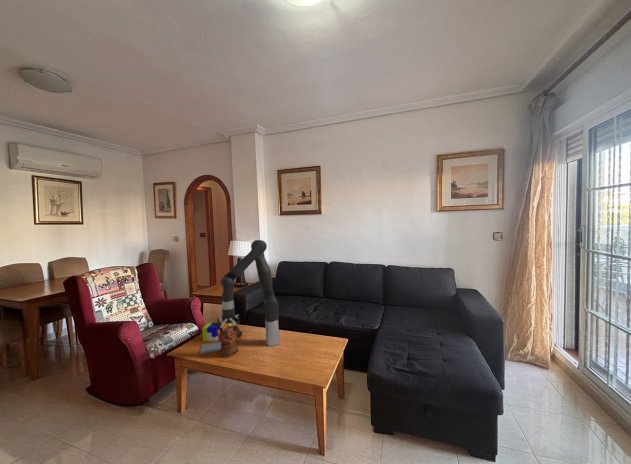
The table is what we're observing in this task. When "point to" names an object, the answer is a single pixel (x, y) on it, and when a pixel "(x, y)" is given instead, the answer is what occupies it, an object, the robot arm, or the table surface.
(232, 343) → the wooden figurine
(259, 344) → the table surface
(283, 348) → the table surface
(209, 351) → the gray square panel
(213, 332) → the puzzle toy
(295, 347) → the table surface
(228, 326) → the green-brown rounded mound
